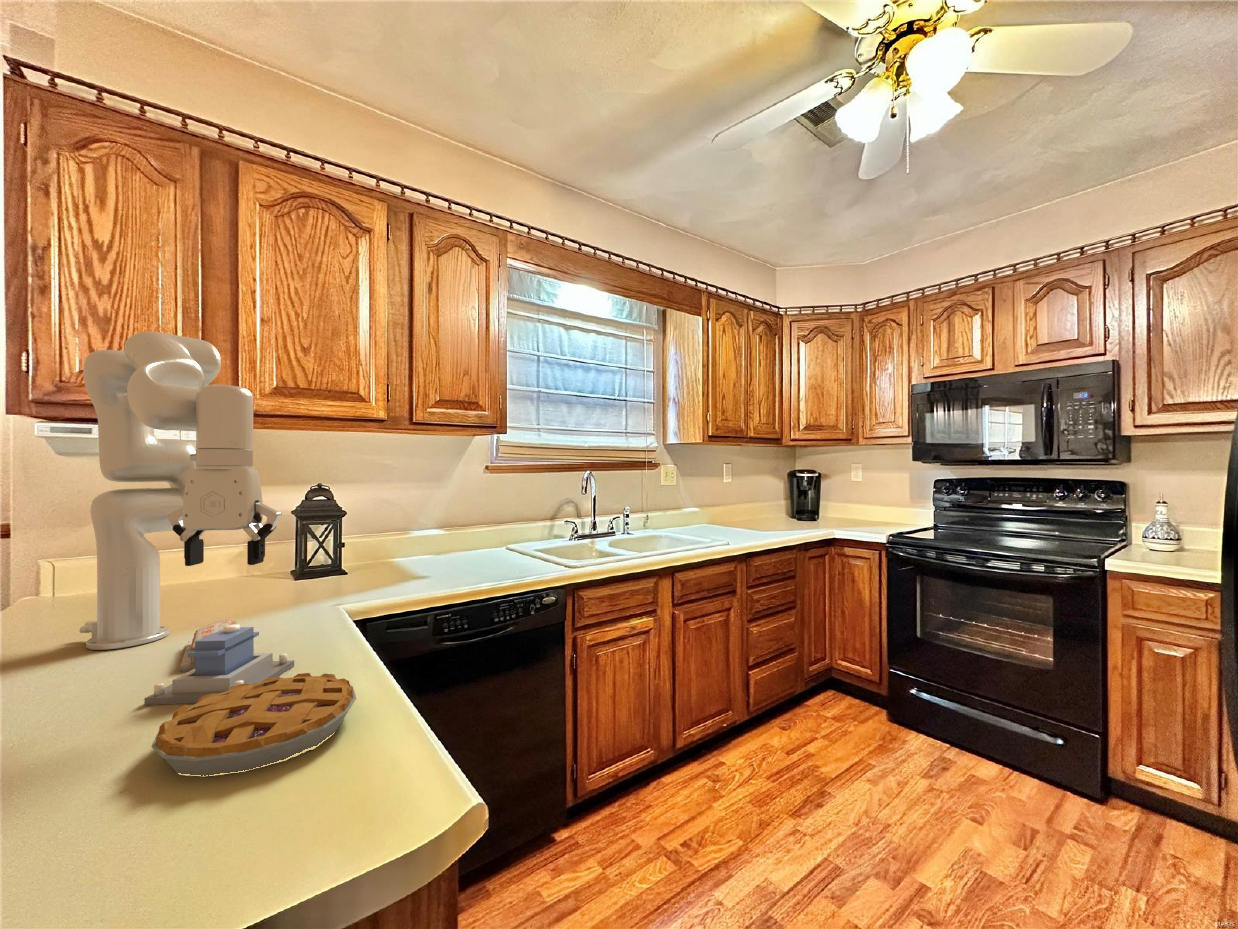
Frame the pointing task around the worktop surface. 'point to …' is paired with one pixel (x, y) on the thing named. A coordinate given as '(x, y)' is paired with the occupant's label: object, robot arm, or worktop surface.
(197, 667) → the block
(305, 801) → the worktop surface
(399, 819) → the worktop surface
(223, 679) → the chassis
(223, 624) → the packaged product
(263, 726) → the pie
